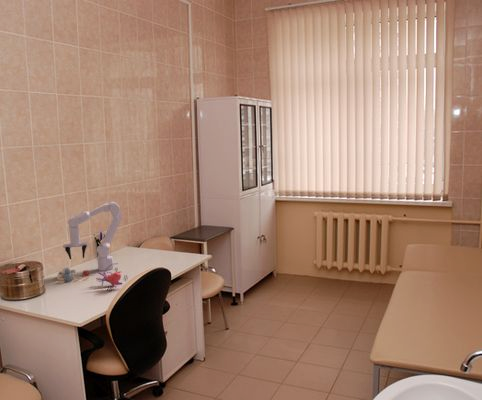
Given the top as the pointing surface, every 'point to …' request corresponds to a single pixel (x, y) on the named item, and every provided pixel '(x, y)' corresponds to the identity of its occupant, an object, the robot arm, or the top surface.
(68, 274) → the pawn
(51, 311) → the top surface
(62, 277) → the beige irregular flat piece
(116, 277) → the heart model
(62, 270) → the dome
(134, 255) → the top surface
